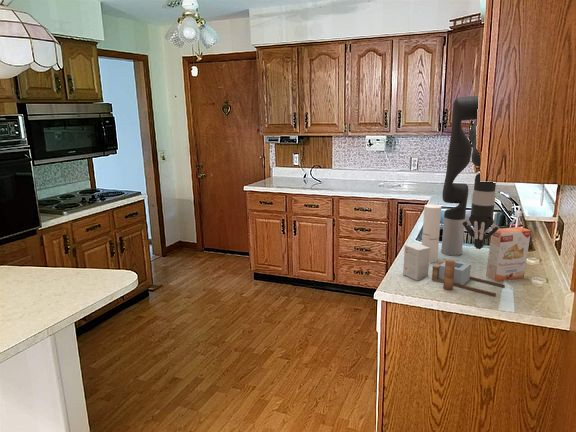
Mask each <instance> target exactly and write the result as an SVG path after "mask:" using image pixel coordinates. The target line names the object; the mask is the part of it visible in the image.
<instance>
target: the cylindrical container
mask: <svg viewBox="0 0 576 432" xmlns="http://www.w3.org/2000/svg"><path fill="white" fill-rule="evenodd" d="M423 210H424V211H423V223H422V233H421V234H422V235H421V236H422V238H421V245H424V246H426V247H429V248H430V255H429V264H431V263H432V264H433V263H438V254H439V246H440V245H439V242H440V232H441V229H440V228H441V217H442V205H439V204H424V207H423Z"/></svg>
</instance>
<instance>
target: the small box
mask: <svg viewBox="0 0 576 432" xmlns="http://www.w3.org/2000/svg"><path fill="white" fill-rule="evenodd" d="M429 255H430V248H429V247H426V246H424V245H422V243H421V244H420V243H418V242H413V243H408V244H405V245H404V256H403V273H402V274H403V275H404V276H406V277H408V278H411V279H413V280H414V281H420V280H421V281H422V280H424V279H426V278H427V277H429V269H430V267H429V266H430V263H429Z"/></svg>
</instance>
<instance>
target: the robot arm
mask: <svg viewBox="0 0 576 432" xmlns="http://www.w3.org/2000/svg"><path fill="white" fill-rule="evenodd" d="M477 109H478V95H477V96H476V95H474V96H473V95H471V96H458V97H456V98H455V99H454V100H453V105H452V113H451V115H452V116H451V133H450V140H449V145H448V151H447V162H446V163H447V164H446V173H445V179H444V184H443V189H442V195H441V196H442V201H443V202H444V203H447V204H458V205H456V206H455V207H453V208H448V209H446V210H445V211H444V215H443V225H442V227H443V228H442V238H441V248H440V249H441V253H442V254H444V255H446V256H452V257H453V256H461V255H462V254H463V245H464V233H465V230H466V233H468V235H469V236H470V237H473V238H474V247H475V249H476V250H481V249H483V247H484V245H485V244H484V243H485V240H488V239H490V238H491V235H493V234H494V233H495V232H496V231H497V230H498V229H501V228H500V226H499V225H497V224H496V223H495V220H494V215H495V214H494V212H495V211H494V210H495V203H496V186H497V182H496V183H493V182H480V173H481V172H480V173H477V174H475V177H474V185H473V193H472V197H471V207H470V216H469V217H468V220H466V213H467V204H468V200H469V199H468V198H469V186H468V184H467V183H458V182H454V181H455V179H456V178H457V177H458V176H459V175H460V174H461V173H462V172H463V171H464V170H465V169H466V168H467V166H469V163H470V161H471V162H472V164H473V165H474V166H476V167H480V155H479V152H478V150H477V149H476V126H477ZM474 120H475V122H474V123H473V124H472V126H471V127H470V129H469V132H468V136H469V138H468V136H467V135H466V134H465V132H464V130H463V128H462V122H463V121H474ZM480 168H481V167H480ZM489 229H491V230H490V231H489V232H488V233H487V230H489ZM486 233H487V234H486Z"/></svg>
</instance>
